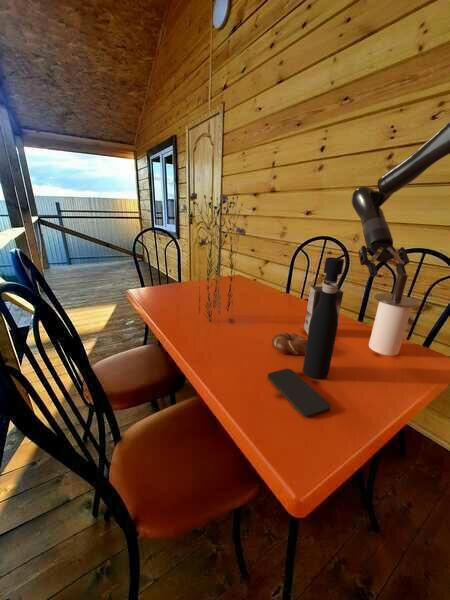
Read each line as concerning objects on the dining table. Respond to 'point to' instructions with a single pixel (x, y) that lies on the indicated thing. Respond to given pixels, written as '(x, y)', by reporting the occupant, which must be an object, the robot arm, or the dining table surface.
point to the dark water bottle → (323, 324)
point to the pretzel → (289, 343)
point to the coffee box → (314, 301)
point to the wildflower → (240, 231)
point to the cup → (389, 329)
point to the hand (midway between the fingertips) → (388, 276)
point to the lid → (398, 295)
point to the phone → (299, 393)
